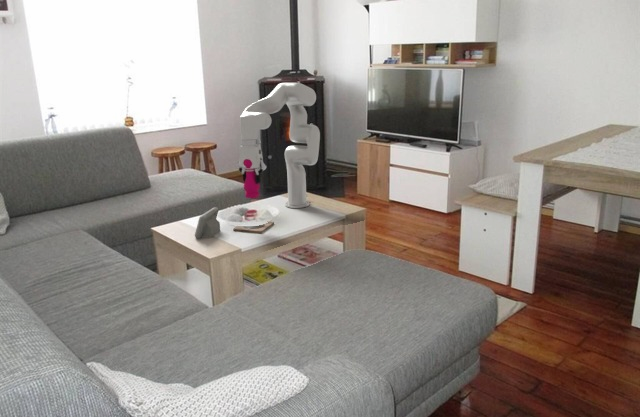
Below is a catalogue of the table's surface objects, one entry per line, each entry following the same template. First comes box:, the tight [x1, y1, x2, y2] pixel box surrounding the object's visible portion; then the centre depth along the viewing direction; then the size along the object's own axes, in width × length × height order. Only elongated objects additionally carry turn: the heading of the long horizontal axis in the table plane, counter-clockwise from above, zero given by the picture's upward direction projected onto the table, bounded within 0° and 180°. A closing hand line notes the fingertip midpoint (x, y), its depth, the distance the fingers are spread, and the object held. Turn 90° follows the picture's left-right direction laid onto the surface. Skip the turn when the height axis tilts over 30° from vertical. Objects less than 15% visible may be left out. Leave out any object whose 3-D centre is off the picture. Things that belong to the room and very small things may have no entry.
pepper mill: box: [243, 159, 260, 199], centre depth 241 cm, size 7×7×20 cm
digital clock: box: [194, 206, 221, 239], centre depth 239 cm, size 16×9×11 cm, turn 154°
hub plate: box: [233, 221, 275, 234], centre depth 247 cm, size 14×14×1 cm
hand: (251, 182), depth 242 cm, fingers closed on pepper mill, 5 cm apart
